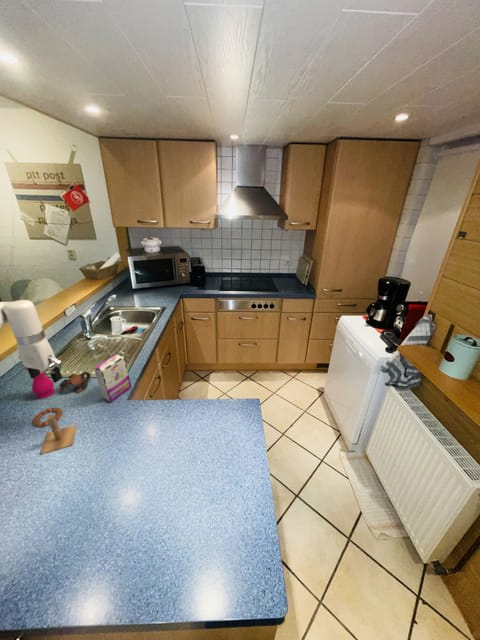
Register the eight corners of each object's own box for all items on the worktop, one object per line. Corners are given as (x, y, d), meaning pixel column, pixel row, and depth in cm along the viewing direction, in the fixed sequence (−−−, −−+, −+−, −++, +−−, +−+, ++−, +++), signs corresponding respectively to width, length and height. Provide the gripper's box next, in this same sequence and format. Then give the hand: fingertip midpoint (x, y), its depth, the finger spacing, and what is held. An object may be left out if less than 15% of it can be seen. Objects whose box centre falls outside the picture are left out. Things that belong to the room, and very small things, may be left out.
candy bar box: (123, 383, 115) (116, 353, 108) (131, 387, 113) (125, 356, 106) (102, 399, 105) (93, 367, 98) (110, 403, 103) (101, 370, 97)
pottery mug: (74, 400, 105) (59, 386, 102) (68, 399, 112) (54, 386, 109) (98, 379, 113) (85, 366, 110) (92, 379, 119) (79, 366, 117)
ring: (30, 432, 90) (28, 428, 89) (37, 414, 98) (35, 410, 97) (60, 424, 93) (59, 420, 92) (65, 407, 101) (63, 403, 100)
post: (41, 456, 81) (29, 431, 77) (48, 435, 89) (37, 411, 84) (73, 447, 85) (64, 422, 80) (77, 427, 92) (68, 403, 87)
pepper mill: (35, 403, 103) (18, 363, 94) (36, 393, 108) (19, 354, 99) (57, 396, 107) (41, 357, 98) (56, 387, 112) (41, 349, 103)
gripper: (-2, 339, 82) (17, 380, 89) (41, 346, 78) (57, 388, 86) (21, 329, 89) (37, 368, 96) (61, 334, 85) (75, 375, 92)
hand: (47, 378), depth 91 cm, fingers open, 9 cm apart
